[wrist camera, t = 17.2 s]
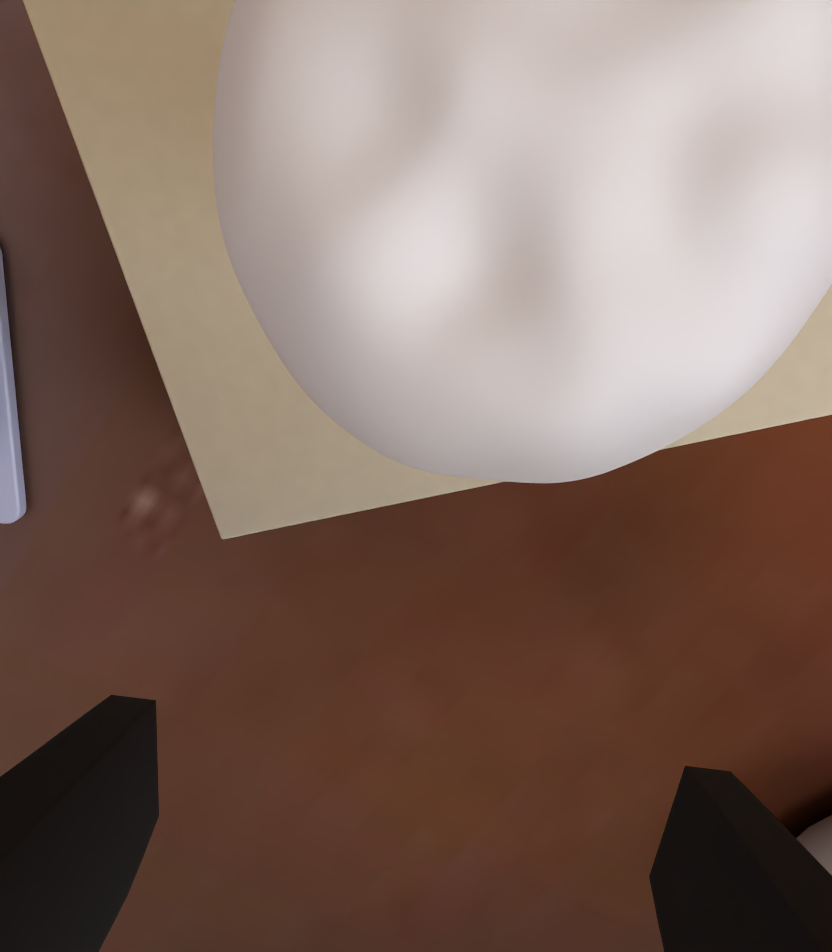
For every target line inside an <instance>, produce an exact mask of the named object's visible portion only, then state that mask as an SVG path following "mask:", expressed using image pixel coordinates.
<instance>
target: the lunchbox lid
mask: <svg viewBox="0 0 832 952" xmlns="http://www.w3.org/2000/svg"><path fill="white" fill-rule="evenodd" d="M234 2H235V0H23V3H24V5H25V8H26V11H27V13H28V16H29V19H30V22H31V24H32V27H33V30H34V32H35V35H36V38H37V40H38V43H39V46H40V49H41V51H42V54H43V57H44V59H45V62H46V65H47V68H48V70H49V73H50V76H51V78H52V81H53V84H54V87H55V89H56V92H57V95H58V97H59V100H60V103H61V106H62V108H63V111H64V114H65V116H66V119H67V122H68V125H69V127H70V130H71V133H72V135H73V138H74V141H75V143H76V146H77V149H78V152H79V154H80V157H81V160H82V162H83V165H84V168H85V171H86V173H87V176H88V179H89V181H90V184H91V187H92V190H93V192H94V195H95V198H96V200H97V203H98V206H99V209H100V211H101V214H102V217H103V219H104V222H105V225H106V228H107V230H108V233H109V236H110V238H111V241H112V244H113V247H114V249H115V252H116V255H117V257H118V260H119V263H120V265H121V268H122V271H123V274H124V276H125V279H126V282H127V284H128V287H129V290H130V293H131V295H132V298H133V301H134V303H135V306H136V309H137V312H138V314H139V317H140V320H141V322H142V325H143V328H144V331H145V333H146V336H147V339H148V341H149V344H150V347H151V350H152V352H153V355H154V358H155V360H156V363H157V366H158V368H159V371H160V374H161V377H162V379H163V382H164V385H165V387H166V390H167V393H168V396H169V398H170V401H171V404H172V406H173V409H174V412H175V415H176V417H177V420H178V423H179V425H180V428H181V431H182V434H183V436H184V439H185V442H186V444H187V447H188V450H189V453H190V455H191V458H192V461H193V463H194V466H195V469H196V471H197V474H198V477H199V480H200V482H201V485H202V488H203V490H204V493H205V496H206V499H207V501H208V504H209V507H210V509H211V512H212V515H213V518H214V520H215V523H216V526H217V528H218V531H219V534H220V537H221V538H222V539H227V538H232V537H237V536H241V535H246V534H251V533H256V532H261V531H266V530H271V529H276V528H281V527H285V526H290V525H295V524H300V523H305V522H310V521H315V520H320V519H324V518H329V517H334V516H339V515H344V514H349V513H354V512H359V511H363V510H368V509H373V508H378V507H383V506H388V505H393V504H398V503H402V502H407V501H412V500H417V499H422V498H427V497H432V496H437V495H442V494H446V493H451V492H456V491H461V490H466V489H471V488H476V487H481V486H485V485H490V484H495V483H500V482H505V481H497V480H486V479H475V478H464V477H454V476H447V475H441V474H435V473H431V472H426V471H422V470H419V469H415V468H412V467H409V466H406V465H403V464H401V463H399V462H396V461H394V460H392V459H390V458H388V457H386V456H384V455H382V454H380V453H378V452H377V451H375V450H373V449H372V448H370V447H368V446H367V445H365V444H364V443H362V442H361V441H359V440H358V439H356V438H355V437H354V436H352V435H351V434H350V433H348V432H347V431H346V430H344V429H343V428H342V427H341V426H339V425H338V424H337V423H336V422H334V421H333V420H332V419H331V418H330V417H329V416H328V415H327V414H326V413H324V412H323V411H322V410H321V409H320V408H319V407H318V406H317V405H316V404H315V403H314V402H313V401H312V400H311V398H310V397H309V396H308V395H307V394H306V393H305V392H304V391H303V389H302V388H301V387H300V386H299V384H298V383H297V382H296V381H295V379H294V378H293V376H292V375H291V374H290V372H289V371H288V369H287V368H286V367H285V365H284V364H283V362H282V361H281V359H280V357H279V356H278V354H277V353H276V351H275V349H274V348H273V346H272V345H271V343H270V341H269V339H268V338H267V336H266V334H265V332H264V331H263V329H262V327H261V325H260V323H259V322H258V320H257V318H256V316H255V314H254V312H253V310H252V308H251V306H250V304H249V302H248V300H247V298H246V296H245V294H244V292H243V290H242V288H241V285H240V283H239V281H238V279H237V276H236V274H235V271H234V269H233V266H232V264H231V261H230V258H229V256H228V253H227V250H226V246H225V243H224V239H223V235H222V231H221V226H220V221H219V216H218V209H217V202H216V193H215V183H214V168H213V122H214V106H215V94H216V85H217V76H218V69H219V63H220V57H221V52H222V47H223V42H224V38H225V33H226V29H227V25H228V22H229V18H230V15H231V12H232V8H233V5H234ZM827 415H832V284H831V286H830V288H829V289H828V291H827V292H826V294H825V295H824V297H823V298H822V300H821V301H820V303H819V304H818V306H817V307H816V309H815V310H814V311H813V313H812V314H811V316H810V317H809V319H808V320H807V322H806V323H805V324H804V326H803V327H802V329H801V330H800V331H799V333H798V334H797V336H796V337H795V338H794V340H793V341H792V342H791V344H790V345H789V346H788V347H787V349H786V350H785V351H784V352H783V354H782V355H781V356H780V357H779V359H778V360H777V361H776V362H775V363H774V364H773V366H772V367H771V368H770V369H769V370H768V371H767V372H766V373H765V374H764V375H763V376H762V377H761V378H760V379H759V380H758V381H757V382H756V383H755V384H754V385H753V386H752V387H751V388H750V389H749V390H748V391H747V392H746V393H745V394H744V395H742V396H741V397H740V398H739V399H738V400H737V401H735V402H734V403H733V404H732V405H730V406H729V407H728V408H726V409H725V410H724V411H722V412H721V413H720V414H718V415H717V416H716V417H714V418H713V419H711V420H710V421H708V422H707V423H705V424H704V425H702V426H700V427H699V428H697V429H696V430H694V431H692V432H691V433H689V434H687V435H686V436H684V437H682V438H680V439H679V440H677V441H675V442H673V443H671V444H669V445H667V446H666V447H664V448H662V449H666V448H671V447H676V446H681V445H685V444H690V443H695V442H700V441H705V440H710V439H715V438H720V437H724V436H729V435H734V434H739V433H744V432H749V431H754V430H759V429H764V428H768V427H773V426H778V425H783V424H788V423H793V422H798V421H803V420H807V419H812V418H817V417H822V416H827ZM660 450H661V449H660Z"/></svg>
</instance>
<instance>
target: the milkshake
mask: <svg viewBox="0 0 832 952" xmlns="http://www.w3.org/2000/svg"><path fill="white" fill-rule="evenodd" d="M213 168H214V183H215V193H216V202H217V209H218V216H219V221H220V226H221V231H222V235H223V239H224V243H225V246H226V250H227V253H228V256H229V258H230V261H231V264H232V266H233V269H234V271H235V274H236V276H237V279H238V281H239V283H240V285H241V288H242V290H243V292H244V294H245V296H246V298H247V300H248V302H249V304H250V306H251V308H252V310H253V312H254V314H255V316H256V318H257V320H258V322H259V323H260V325H261V327H262V329H263V331H264V332H265V334H266V336H267V338H268V339H269V341H270V343H271V345H272V346H273V348H274V349H275V351H276V353H277V354H278V356H279V357H280V359H281V361H282V362H283V364H284V365H285V367H286V368H287V369H288V371H289V372H290V374H291V375H292V376H293V378H294V379H295V381H296V382H297V383H298V384H299V386H300V387H301V388H302V389H303V391H304V392H305V393H306V394H307V395H308V396H309V397H310V398H311V400H312V401H313V402H314V403H315V404H316V405H317V406H318V407H319V408H320V409H321V410H322V411H323V412H324V413H326V414H327V415H328V416H329V417H330V418H331V419H332V420H333V421H334V422H336V423H337V424H338V425H339V426H341V427H342V428H343V429H344V430H346V431H347V432H348V433H350V434H351V435H352V436H354V437H355V438H356V439H358V440H359V441H361V442H362V443H364V444H365V445H367V446H368V447H370V448H372V449H373V450H375V451H377V452H378V453H380V454H382V455H384V456H386V457H388V458H390V459H392V460H394V461H396V462H399V463H401V464H403V465H406V466H409V467H412V468H415V469H419V470H422V471H426V472H431V473H435V474H441V475H447V476H454V477H464V478H475V479H486V480H497V481H508V482H523V483H559V482H569V481H575V480H580V479H585V478H589V477H593V476H596V475H600V474H603V473H606V472H609V471H611V470H614V469H617V468H619V467H622V466H624V465H627V464H629V463H631V462H634V461H636V460H638V459H641V458H643V457H645V456H647V455H649V454H652V453H654V452H656V451H658V450H660V449H662V448H664V447H666V446H667V445H669V444H671V443H673V442H675V441H677V440H679V439H680V438H682V437H684V436H686V435H687V434H689V433H691V432H692V431H694V430H696V429H697V428H699V427H700V426H702V425H704V424H705V423H707V422H708V421H710V420H711V419H713V418H714V417H716V416H717V415H718V414H720V413H721V412H722V411H724V410H725V409H726V408H728V407H729V406H730V405H732V404H733V403H734V402H735V401H737V400H738V399H739V398H740V397H741V396H742V395H744V394H745V393H746V392H747V391H748V390H749V389H750V388H751V387H752V386H753V385H754V384H755V383H756V382H757V381H758V380H759V379H760V378H761V377H762V376H763V375H764V374H765V373H766V372H767V371H768V370H769V369H770V368H771V367H772V366H773V364H774V363H775V362H776V361H777V360H778V359H779V357H780V356H781V355H782V354H783V352H784V351H785V350H786V349H787V347H788V346H789V345H790V344H791V342H792V341H793V340H794V338H795V337H796V336H797V334H798V333H799V331H800V330H801V329H802V327H803V326H804V324H805V323H806V322H807V320H808V319H809V317H810V316H811V314H812V313H813V311H814V310H815V309H816V307H817V306H818V304H819V303H820V301H821V300H822V298H823V297H824V295H825V294H826V292H827V291H828V289H829V288H830V286H831V284H832V0H235V2H234V5H233V8H232V12H231V15H230V18H229V22H228V25H227V29H226V33H225V38H224V42H223V47H222V52H221V57H220V63H219V69H218V76H217V85H216V94H215V106H214V122H213Z"/></svg>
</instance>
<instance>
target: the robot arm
mask: <svg viewBox="0 0 832 952" xmlns="http://www.w3.org/2000/svg"><path fill="white" fill-rule="evenodd" d="M25 512H26V496H25V486H24V475H23V465H22V455H21V444H20V434H19V424H18V413H17V403H16V393H15V382H14V372H13V362H12V351H11V341H10V331H9V320H8V310H7V300H6V289H5V279H4V269H3V258H2V251H1V248H0V523H4V524H6V523H12V522H14V521H16V520H18V519H19V518H21V517H22V516H23V515H24V514H25ZM158 817H159V802H158V765H157V727H156V700H148V699H140V698H132V697H124V696H116V695H111V696H109V697H108V698H107V699H105V700H104V701H102V702H101V703H100V704H98V705H97V706H95V707H94V708H93V709H91V710H90V711H89V712H87V713H86V714H84V715H83V716H82V717H80V718H79V719H78V720H76V721H75V722H74V723H72V724H71V725H70V726H68V727H67V728H66V729H64V730H63V731H62V732H60V733H59V734H57V735H56V736H55V737H53V738H52V739H51V740H49V741H48V742H47V743H45V744H44V745H43V746H41V747H40V748H39V749H37V750H36V751H35V752H33V753H32V754H31V755H29V756H28V757H27V758H25V759H24V760H23V761H21V762H20V763H19V764H17V765H16V766H14V767H13V768H12V769H10V770H9V771H8V772H6V773H5V774H3V775H2V776H1V777H0V952H99V950H100V948H101V946H102V944H103V942H104V940H105V938H106V936H107V934H108V932H109V930H110V928H111V926H112V925H113V923H114V921H115V919H116V917H117V915H118V913H119V911H120V909H121V907H122V905H123V903H124V901H125V899H126V897H127V895H128V893H129V890H130V888H131V885H132V883H133V880H134V878H135V875H136V873H137V870H138V868H139V866H140V863H141V861H142V858H143V856H144V853H145V850H146V848H147V845H148V843H149V840H150V837H151V835H152V832H153V830H154V827H155V824H156V822H157V819H158ZM649 877H650V883H651V888H652V893H653V898H654V903H655V909H656V914H657V919H658V924H659V929H660V933H661V938H662V942H663V947H664V952H832V875H831V874H830V873H829V872H828V871H827V870H826V869H825V868H824V867H823V866H822V865H821V864H820V863H819V862H818V861H817V860H816V859H815V858H814V856H813V855H812V854H811V853H810V852H809V851H808V850H807V849H806V848H805V847H804V846H803V845H802V844H801V843H800V842H799V841H798V840H797V839H796V838H795V837H794V836H793V835H792V834H791V833H790V832H789V831H788V830H787V828H786V827H785V826H784V825H783V824H782V823H781V822H780V821H779V820H778V819H777V818H776V817H775V816H774V815H773V814H772V813H771V812H770V811H769V810H768V809H767V808H766V807H765V806H764V805H763V804H762V803H761V802H760V801H759V800H758V799H757V797H756V796H755V795H754V794H753V793H752V792H751V791H750V790H749V789H748V788H747V787H746V786H745V785H744V784H743V783H742V782H741V781H739V780H738V779H737V778H736V777H735V776H734V775H733V774H732V773H731V772H730V771H722V770H714V769H706V768H698V767H689V766H685V768H684V771H683V774H682V777H681V780H680V783H679V786H678V790H677V793H676V796H675V799H674V802H673V805H672V808H671V811H670V814H669V817H668V820H667V824H666V827H665V830H664V833H663V836H662V839H661V842H660V845H659V848H658V851H657V854H656V858H655V861H654V864H653V867H652V870H651V873H650V876H649Z"/></svg>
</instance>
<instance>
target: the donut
mask: <svg viewBox="0 0 832 952" xmlns="http://www.w3.org/2000/svg"><path fill="white" fill-rule="evenodd" d="M796 839H797V840H798V841H799V842H800V843H801V844H802V845H803V846H804V847H805V848H806V849H807V850H808V851H809V852H810V853H811V854H812V855H813V856H814V858H815V859H816V860H817V861H818V862H819V863H820V864H821V865H822V866H823V867H824V868H825V869H826V870H827V871H828V872H829V873H830V874H831V875H832V815H830V816H829V817H827V818H825V819H823V820H821V821H819V822H817V823H815V824H813V825H812V826H810V827H808V828H807V829H806V830H805V831H803V832H802V833H801V834H800V835H799V836H798V837H797V838H796Z"/></svg>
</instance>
